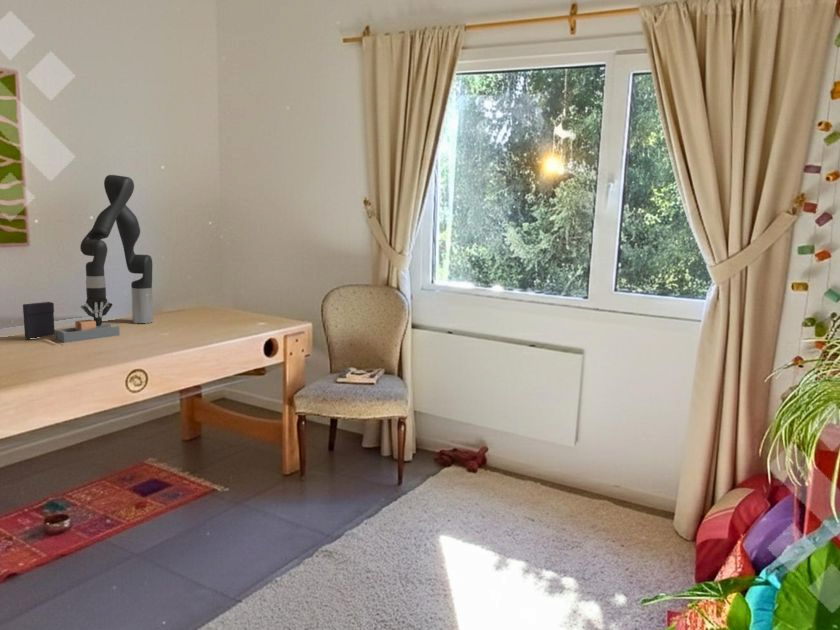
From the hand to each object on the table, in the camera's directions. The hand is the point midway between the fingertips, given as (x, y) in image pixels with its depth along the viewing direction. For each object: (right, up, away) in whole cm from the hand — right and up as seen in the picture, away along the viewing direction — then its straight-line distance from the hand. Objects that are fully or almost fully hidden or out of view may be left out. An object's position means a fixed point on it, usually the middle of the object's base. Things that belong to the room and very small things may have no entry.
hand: (98, 325), depth 284 cm
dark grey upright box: (-23, -5, -3) cm, 24 cm away
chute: (-3, -6, -2) cm, 7 cm away
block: (-4, -5, -3) cm, 7 cm away
